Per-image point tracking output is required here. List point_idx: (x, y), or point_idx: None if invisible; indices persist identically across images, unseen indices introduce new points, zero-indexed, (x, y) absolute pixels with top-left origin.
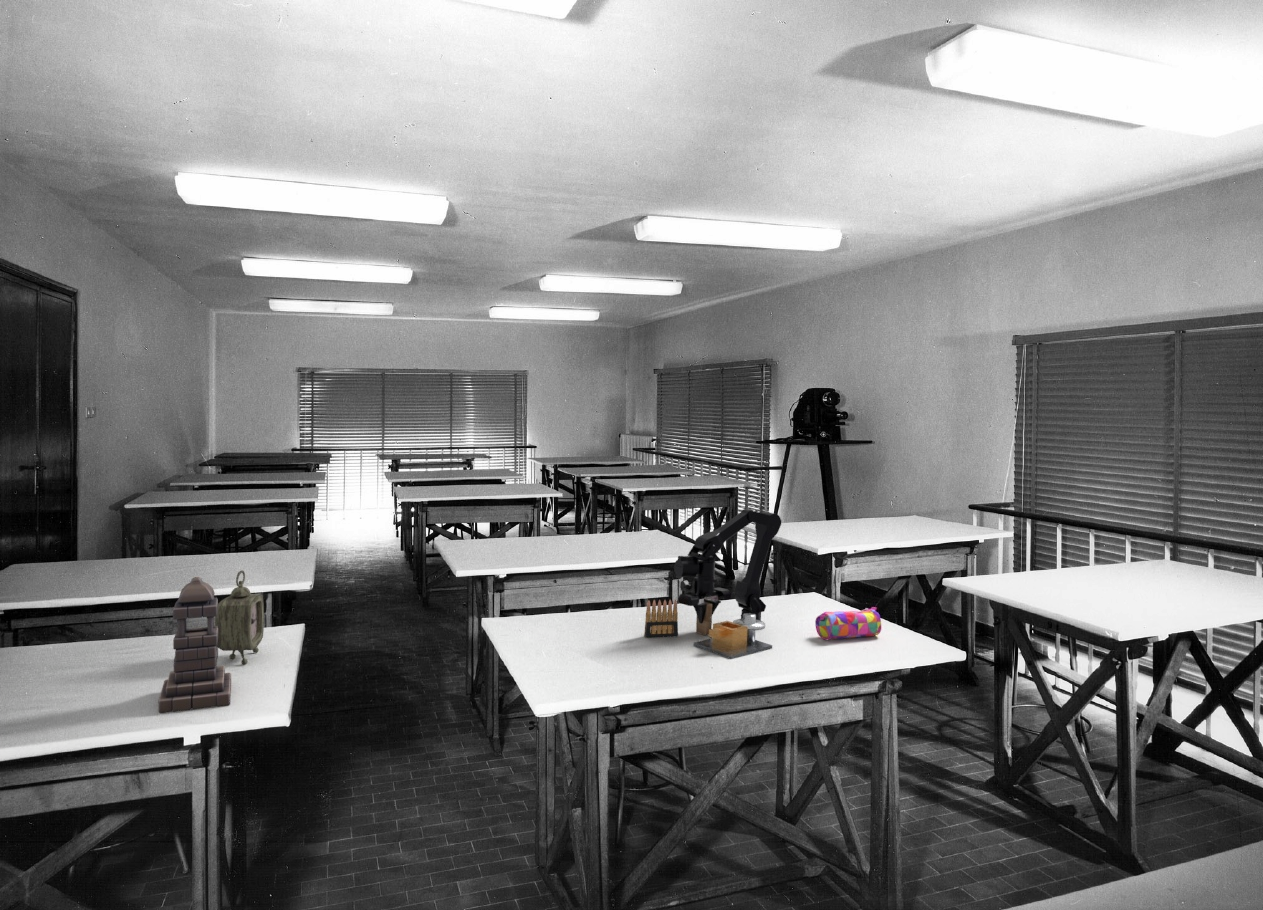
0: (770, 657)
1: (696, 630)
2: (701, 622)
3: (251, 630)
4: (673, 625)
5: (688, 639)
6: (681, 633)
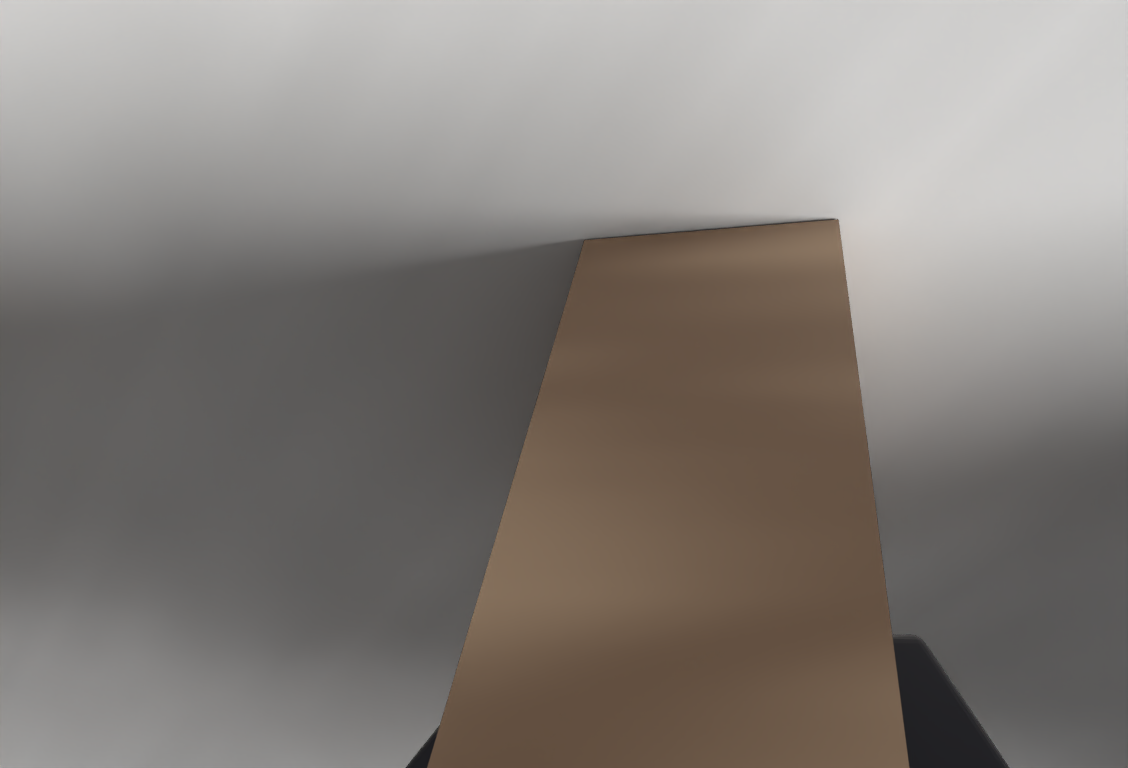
0: None
1: (578, 280)
2: None
3: None
4: None
5: (112, 566)
6: (93, 130)
